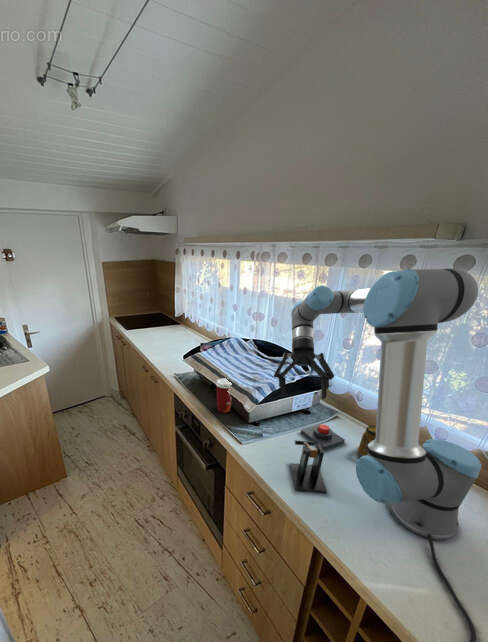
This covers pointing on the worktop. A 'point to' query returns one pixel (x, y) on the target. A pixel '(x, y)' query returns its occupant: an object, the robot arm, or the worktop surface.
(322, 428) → the button
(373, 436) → the condiment
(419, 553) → the worktop surface
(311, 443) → the small hammer
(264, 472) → the worktop surface
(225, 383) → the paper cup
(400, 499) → the robot arm
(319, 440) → the button box
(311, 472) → the rod bracket
